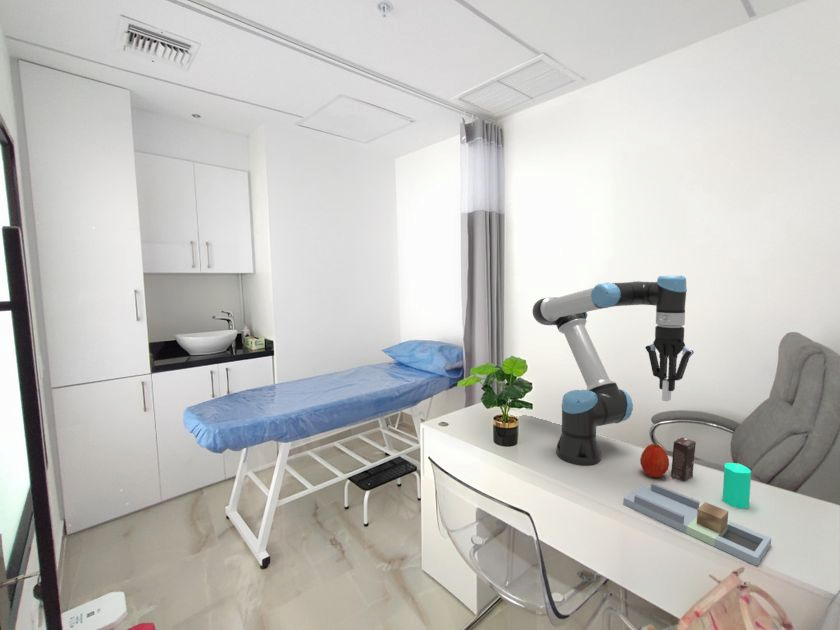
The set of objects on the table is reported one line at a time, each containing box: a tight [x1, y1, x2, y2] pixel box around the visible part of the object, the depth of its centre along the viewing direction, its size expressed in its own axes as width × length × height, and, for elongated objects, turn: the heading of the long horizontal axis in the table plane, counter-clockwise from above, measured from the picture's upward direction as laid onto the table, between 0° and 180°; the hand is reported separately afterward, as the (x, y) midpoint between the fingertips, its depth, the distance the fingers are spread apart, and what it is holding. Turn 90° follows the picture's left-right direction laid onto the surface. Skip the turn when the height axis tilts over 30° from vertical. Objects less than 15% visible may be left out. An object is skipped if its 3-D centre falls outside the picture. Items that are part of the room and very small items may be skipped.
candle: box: [722, 462, 752, 509], centre depth 111 cm, size 6×6×12 cm
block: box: [697, 501, 729, 534], centre depth 99 cm, size 5×5×4 cm
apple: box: [639, 443, 670, 478], centre depth 127 cm, size 8×8×11 cm
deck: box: [622, 482, 772, 567], centre depth 103 cm, size 30×11×4 cm, turn 36°
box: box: [670, 437, 697, 482], centre depth 125 cm, size 6×4×12 cm
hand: (666, 400), depth 121 cm, fingers closed
